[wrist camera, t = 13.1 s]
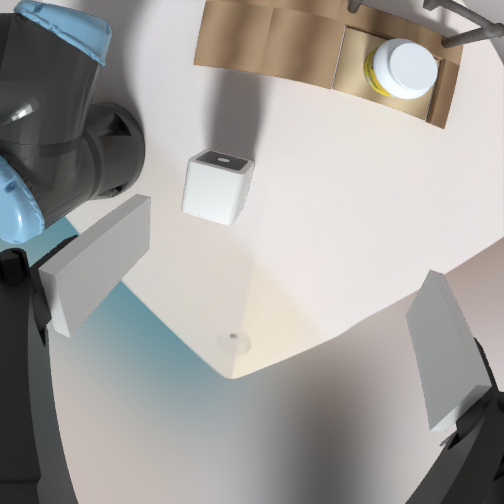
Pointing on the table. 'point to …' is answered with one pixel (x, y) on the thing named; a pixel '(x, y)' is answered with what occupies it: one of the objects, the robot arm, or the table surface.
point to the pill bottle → (400, 69)
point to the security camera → (216, 186)
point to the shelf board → (331, 45)
